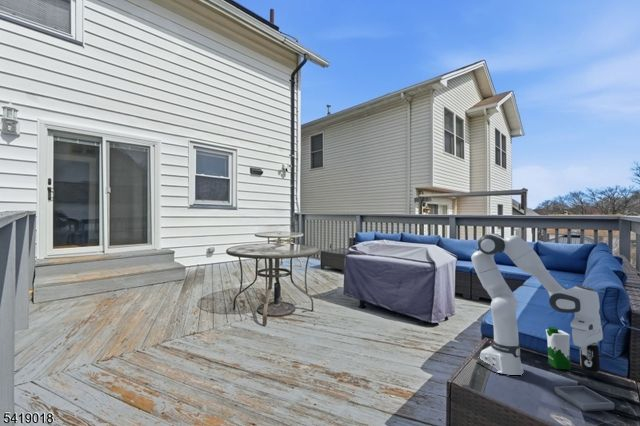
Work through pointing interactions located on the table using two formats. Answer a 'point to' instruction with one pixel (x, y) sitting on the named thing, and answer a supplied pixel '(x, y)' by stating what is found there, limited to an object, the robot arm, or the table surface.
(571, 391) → the tray
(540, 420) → the table surface
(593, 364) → the beverage can
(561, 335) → the milk carton
